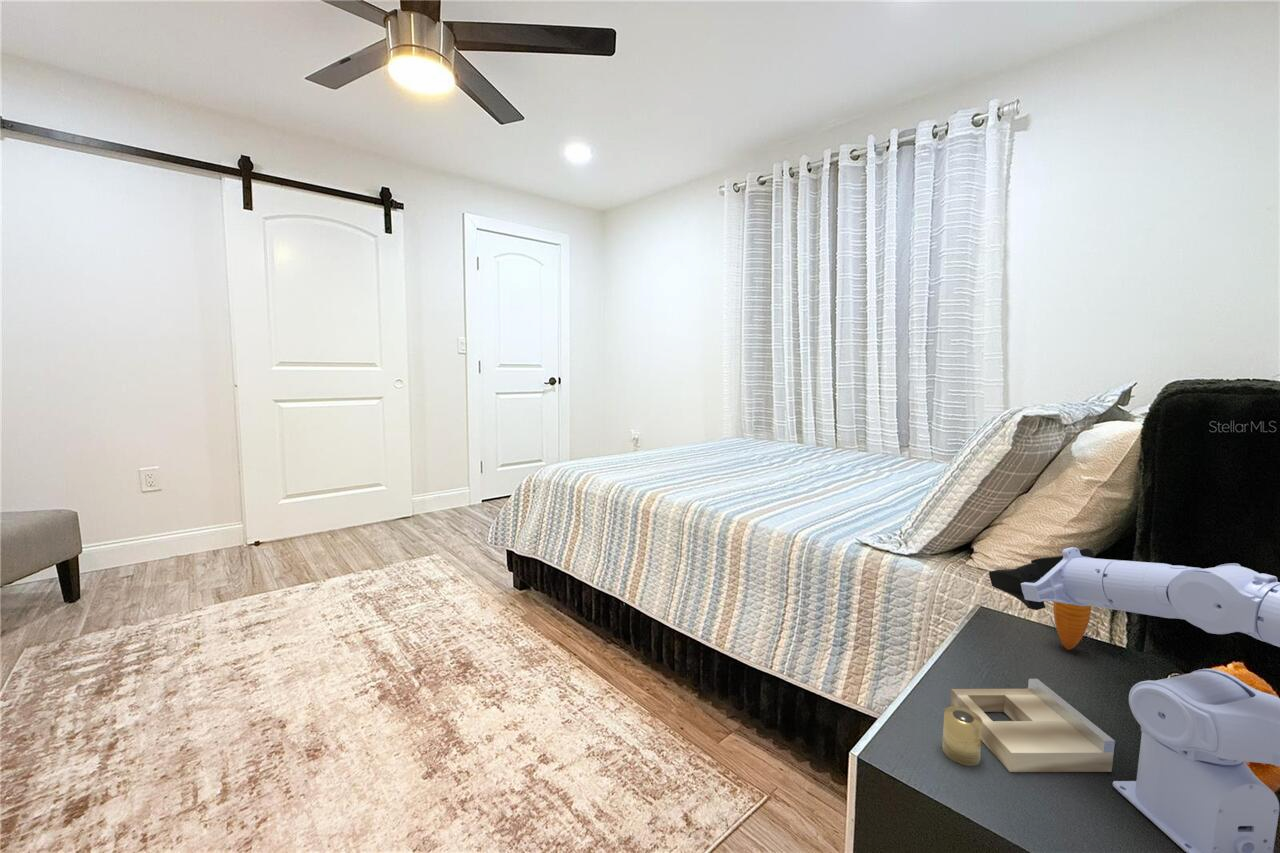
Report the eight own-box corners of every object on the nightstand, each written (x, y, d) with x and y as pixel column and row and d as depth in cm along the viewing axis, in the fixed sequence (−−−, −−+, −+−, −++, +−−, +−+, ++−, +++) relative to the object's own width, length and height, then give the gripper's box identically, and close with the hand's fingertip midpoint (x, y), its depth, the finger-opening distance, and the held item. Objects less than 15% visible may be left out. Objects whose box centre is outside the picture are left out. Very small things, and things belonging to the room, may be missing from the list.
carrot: (1072, 642, 88) (1080, 559, 87) (1095, 658, 84) (1103, 571, 82) (1042, 641, 89) (1049, 558, 87) (1062, 657, 84) (1070, 570, 82)
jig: (1111, 771, 61) (1115, 740, 60) (1009, 772, 61) (1012, 741, 60) (1035, 704, 73) (1037, 678, 72) (950, 705, 73) (951, 679, 72)
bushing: (987, 765, 62) (990, 727, 61) (954, 766, 62) (956, 727, 61) (966, 741, 66) (969, 705, 65) (935, 741, 66) (937, 705, 65)
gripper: (1155, 538, 62) (1044, 534, 75) (1064, 563, 58) (965, 555, 71) (1173, 597, 61) (1058, 583, 74) (1082, 627, 57) (978, 606, 70)
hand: (1013, 572), depth 72 cm, fingers open, 7 cm apart
